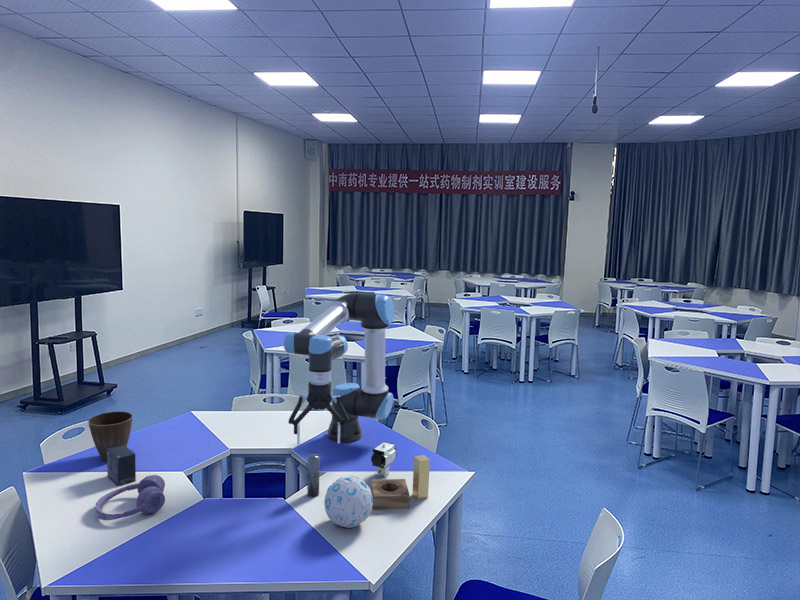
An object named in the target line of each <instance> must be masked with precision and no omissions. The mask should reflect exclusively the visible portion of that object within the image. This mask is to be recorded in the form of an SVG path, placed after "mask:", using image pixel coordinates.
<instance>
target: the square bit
mask: <svg viewBox="0 0 800 600" xmlns="http://www.w3.org/2000/svg"><path fill="white" fill-rule="evenodd" d="M430 462H431V459H430V458H429V457H427V455H425V454H420V455H417V456H413V474H412V496H413V497H414V498H415V499H417V500H418V501H419V500H423V499H428V498H429V487H430V486H429V485H430V464H431V463H430Z"/></svg>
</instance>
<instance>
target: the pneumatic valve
mask: <svg viewBox="0 0 800 600" xmlns="http://www.w3.org/2000/svg"><path fill="white" fill-rule="evenodd" d="M371 455H372V456H371V459H370V461H371V465H372V466H374V467H377V474H378V475H377V476H381V477H382V476H383V477H384V476H385V477H386V476H387V474H388V475H389V474H390V466H391V465H390V464H391V463H392V462H393V461H395V459H396V458H397V448H396V443H391V442H387V441H384V442H382V443H381V444H379V445H377V446H376V447H375V448H373V449H372V454H371Z"/></svg>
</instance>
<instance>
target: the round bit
mask: <svg viewBox="0 0 800 600" xmlns="http://www.w3.org/2000/svg"><path fill="white" fill-rule="evenodd" d="M320 458H321V456H320V454H318V453H310V454H308V456H307V491H306V492H307V493H306V494H307V497H309V498H317V497H318V496H320V467H321V466H320V465H321V464H320V460H321V459H320Z"/></svg>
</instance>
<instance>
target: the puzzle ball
mask: <svg viewBox="0 0 800 600" xmlns="http://www.w3.org/2000/svg"><path fill="white" fill-rule="evenodd" d="M324 510H325V513H326V515H327V517H328V518H329V521H331V523H333V524H334V525H337V526H340V527H342V528H346V529H351V528H354V527H356V526H359V525H360V524H362V523H364V522H365V521H367V520H366V519H368V518H369V516H370V514H371V511H372V510H373V497H372V493H371V487H370V486H369V485H368V484H367V483H366V482H365V481H364V480H363V479H360V478H359V477H357V476H352V475H348V476H346V475H345V476H343V477H340V478H338V479H336V480H335V481H334V482H332V483H331V485H329V487H328V488H327V489H326V492H325V495H324Z"/></svg>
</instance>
